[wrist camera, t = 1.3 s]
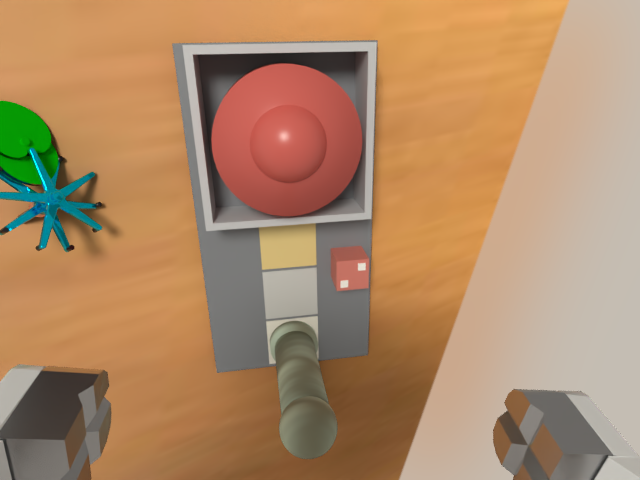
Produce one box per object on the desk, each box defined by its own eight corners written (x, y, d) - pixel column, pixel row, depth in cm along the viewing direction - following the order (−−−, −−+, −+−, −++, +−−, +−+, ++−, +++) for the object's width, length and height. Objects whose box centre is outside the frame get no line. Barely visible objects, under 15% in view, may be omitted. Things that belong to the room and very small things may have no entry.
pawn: (271, 362, 46) (281, 478, 33) (268, 323, 44) (278, 430, 31) (316, 357, 46) (344, 468, 34) (315, 318, 45) (344, 421, 32)
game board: (217, 366, 46) (214, 400, 42) (174, 43, 34) (163, 42, 30) (365, 349, 48) (378, 379, 44) (374, 40, 36) (392, 38, 32)
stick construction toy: (126, 229, 37) (31, 263, 31) (86, 247, 41) (-6, 281, 35) (61, 91, 35) (-54, 97, 29) (26, 124, 39) (-81, 136, 33)
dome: (222, 204, 37) (218, 230, 32) (206, 64, 33) (199, 66, 27) (349, 196, 39) (367, 219, 33) (351, 61, 34) (371, 62, 29)
